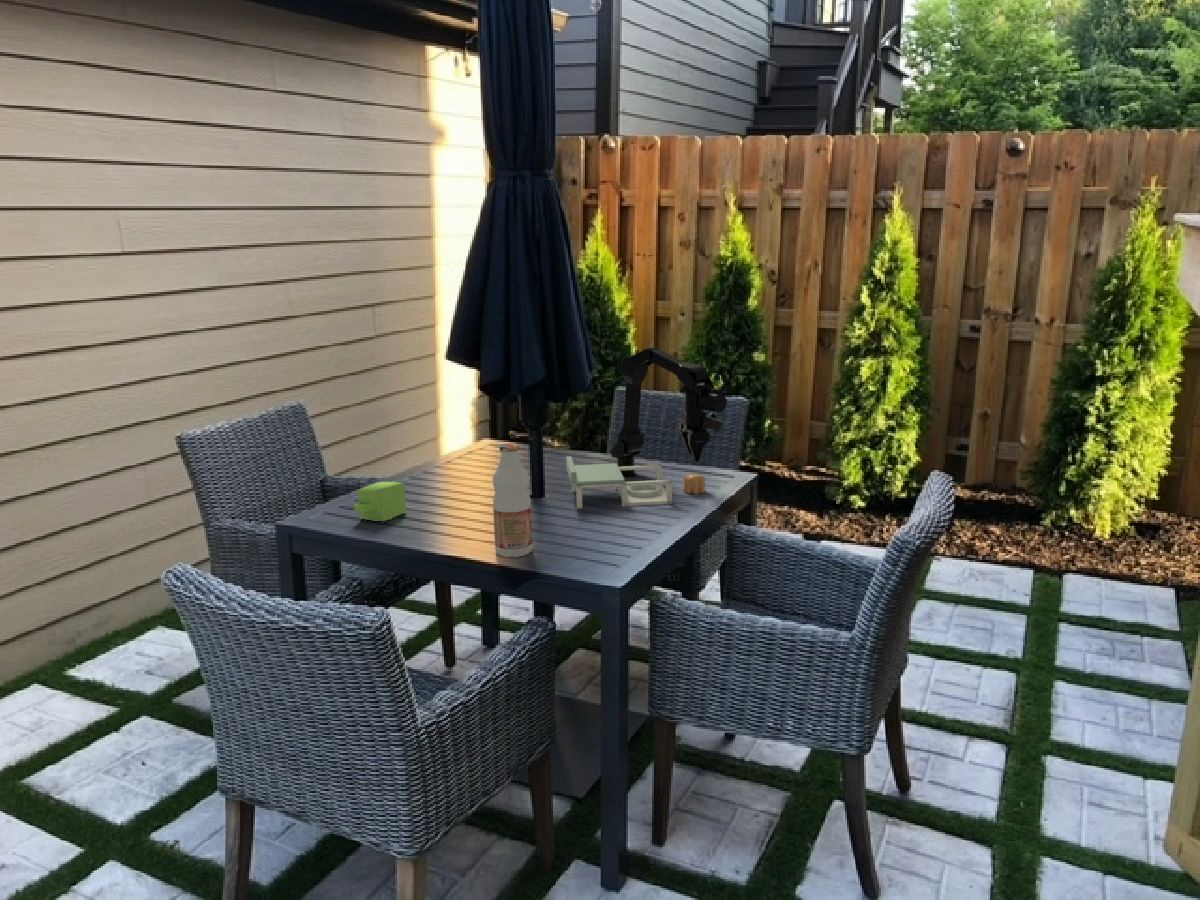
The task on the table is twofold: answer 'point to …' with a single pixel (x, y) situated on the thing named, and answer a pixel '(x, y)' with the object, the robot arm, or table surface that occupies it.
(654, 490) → the housing
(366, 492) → the gearbox
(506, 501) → the fruit juice
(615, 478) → the sliding lid
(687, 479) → the gear hub
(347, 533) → the table surface
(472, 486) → the table surface
